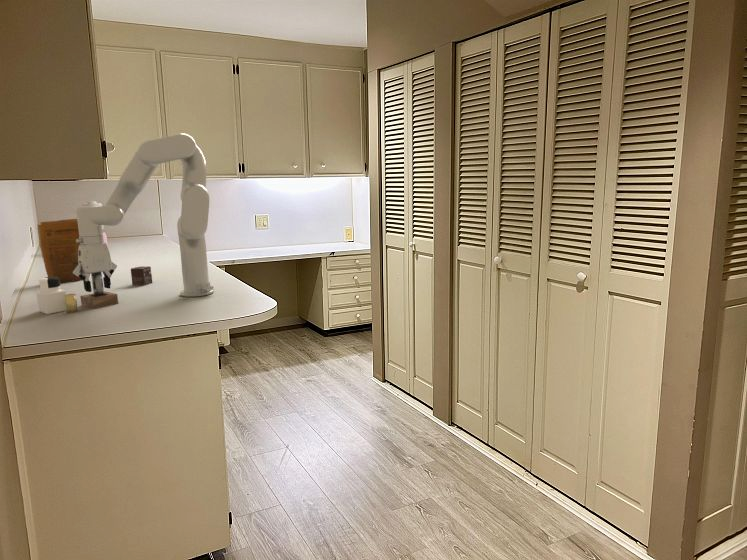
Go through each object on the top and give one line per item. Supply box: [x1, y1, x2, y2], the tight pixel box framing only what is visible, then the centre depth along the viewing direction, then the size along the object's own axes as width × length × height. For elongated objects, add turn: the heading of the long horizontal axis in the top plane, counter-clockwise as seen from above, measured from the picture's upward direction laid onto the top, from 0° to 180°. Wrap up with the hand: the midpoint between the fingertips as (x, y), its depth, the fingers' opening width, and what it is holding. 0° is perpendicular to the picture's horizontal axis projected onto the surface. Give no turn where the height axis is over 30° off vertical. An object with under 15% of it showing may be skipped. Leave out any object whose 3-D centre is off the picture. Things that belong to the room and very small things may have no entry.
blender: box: [81, 200, 109, 247], centre depth 344 cm, size 16×12×32 cm
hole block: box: [80, 290, 119, 309], centre depth 200 cm, size 9×9×4 cm
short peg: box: [64, 293, 79, 314], centre depth 189 cm, size 3×3×6 cm
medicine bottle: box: [36, 276, 67, 315], centre depth 191 cm, size 7×7×12 cm
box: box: [130, 265, 153, 286], centre depth 236 cm, size 6×6×7 cm
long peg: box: [90, 272, 105, 297], centre depth 199 cm, size 3×3×12 cm
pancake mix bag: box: [37, 218, 83, 284], centre depth 245 cm, size 7×19×28 cm, turn 127°
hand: (98, 289), depth 199 cm, fingers open, 6 cm apart
